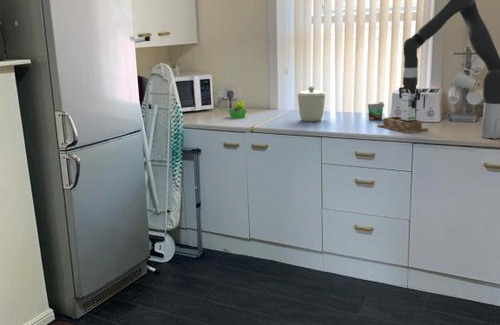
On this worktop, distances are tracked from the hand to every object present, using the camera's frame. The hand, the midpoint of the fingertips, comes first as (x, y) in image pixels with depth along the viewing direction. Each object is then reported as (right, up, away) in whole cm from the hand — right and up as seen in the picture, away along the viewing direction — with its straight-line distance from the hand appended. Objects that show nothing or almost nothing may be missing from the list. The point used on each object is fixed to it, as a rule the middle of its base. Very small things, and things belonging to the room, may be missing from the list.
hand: (409, 107), depth 274 cm
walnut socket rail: (-2, -11, +7) cm, 13 cm away
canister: (-48, -4, +41) cm, 63 cm away
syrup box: (0, -7, +2) cm, 7 cm away
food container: (-8, -4, +36) cm, 37 cm away
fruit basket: (-94, 0, +62) cm, 112 cm away
